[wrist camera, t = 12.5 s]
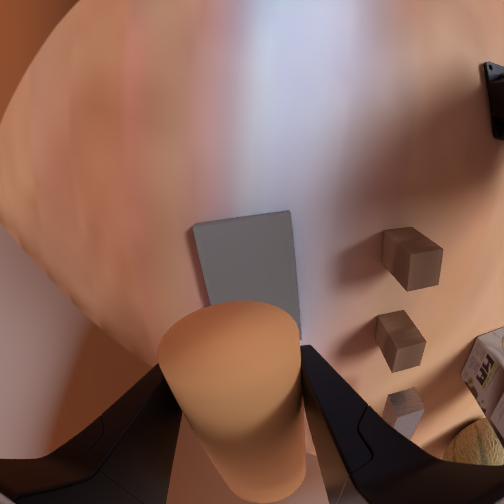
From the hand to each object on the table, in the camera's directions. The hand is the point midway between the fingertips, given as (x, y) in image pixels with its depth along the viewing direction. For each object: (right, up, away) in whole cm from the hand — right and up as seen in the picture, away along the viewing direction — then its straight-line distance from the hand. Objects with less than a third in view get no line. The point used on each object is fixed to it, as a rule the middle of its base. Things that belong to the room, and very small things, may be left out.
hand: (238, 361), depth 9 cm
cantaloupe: (+37, -26, +22) cm, 50 cm away
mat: (0, +1, +11) cm, 11 cm away
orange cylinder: (0, -2, +2) cm, 3 cm away
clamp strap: (+13, -12, +11) cm, 21 cm away
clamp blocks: (+11, +1, +11) cm, 16 cm away
